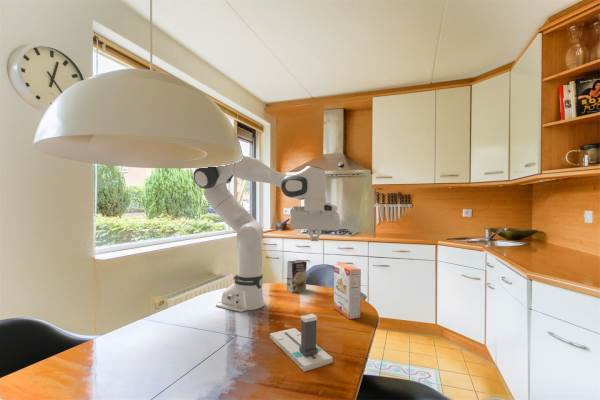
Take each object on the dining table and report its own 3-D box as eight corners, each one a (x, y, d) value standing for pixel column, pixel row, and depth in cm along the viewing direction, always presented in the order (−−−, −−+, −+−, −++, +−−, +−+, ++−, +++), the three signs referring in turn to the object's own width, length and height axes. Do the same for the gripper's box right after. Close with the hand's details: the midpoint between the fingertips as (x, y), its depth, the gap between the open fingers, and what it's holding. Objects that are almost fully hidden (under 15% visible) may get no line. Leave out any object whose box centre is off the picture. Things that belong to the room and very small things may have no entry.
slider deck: (269, 337, 103) (269, 333, 103) (294, 331, 108) (294, 327, 108) (304, 371, 82) (304, 366, 82) (332, 362, 87) (332, 357, 87)
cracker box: (332, 308, 133) (333, 263, 134) (344, 307, 135) (344, 262, 136) (348, 320, 120) (349, 269, 120) (361, 318, 122) (361, 268, 123)
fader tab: (299, 350, 91) (299, 315, 91) (311, 347, 93) (311, 313, 93) (305, 356, 87) (306, 319, 87) (318, 353, 89) (318, 317, 89)
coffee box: (292, 293, 156) (292, 263, 156) (286, 290, 162) (286, 261, 162) (306, 290, 161) (306, 261, 161) (300, 287, 166) (300, 259, 167)
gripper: (288, 206, 116) (287, 240, 116) (338, 206, 110) (338, 243, 110) (292, 206, 122) (292, 239, 122) (341, 206, 117) (340, 241, 116)
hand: (314, 241), depth 116 cm, fingers closed
